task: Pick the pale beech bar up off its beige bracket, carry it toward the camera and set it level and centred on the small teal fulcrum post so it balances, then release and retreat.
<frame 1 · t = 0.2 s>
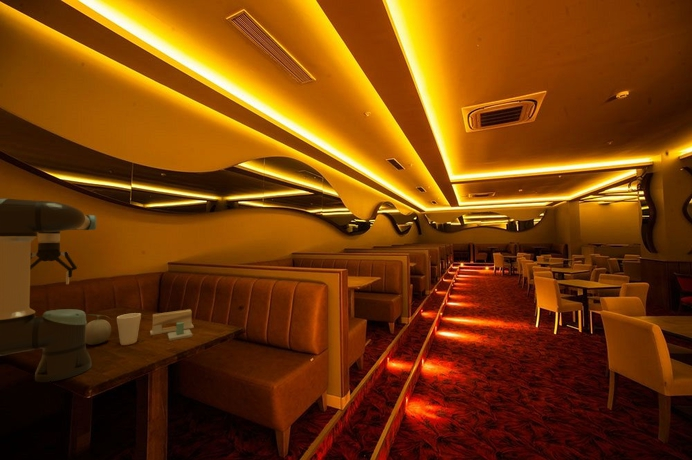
hand: (48, 285, 139), 28 cm above the table, fingers open, 13 cm apart
foam cup: (128, 343, 137), on the table
bar: (172, 321, 156), point 4 cm above the table, touching beige bracket
fulcrum: (179, 336, 146), on the table
beige bracket: (172, 329, 156), on the table
fruit: (97, 343, 137), on the table
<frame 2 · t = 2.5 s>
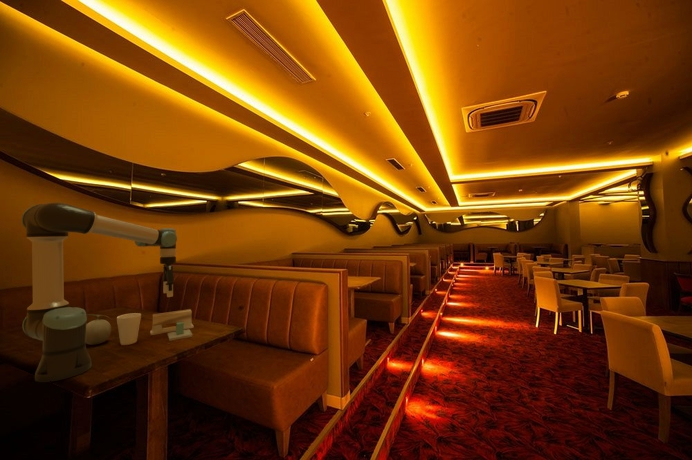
hand: (168, 294, 156), 19 cm above the table, fingers open, 13 cm apart
nothing on the table moved.
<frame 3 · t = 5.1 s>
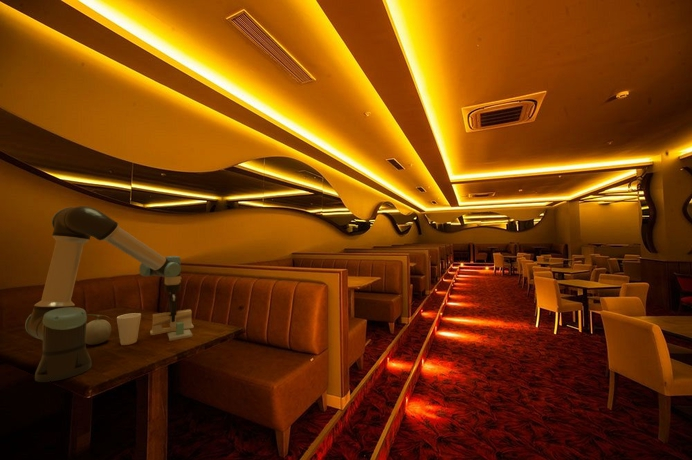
hand: (172, 326, 156), 2 cm above the table, fingers closed on bar, 5 cm apart
bar: (172, 321, 156), point 5 cm above the table, touching beige bracket, gripper
everything else where it was.
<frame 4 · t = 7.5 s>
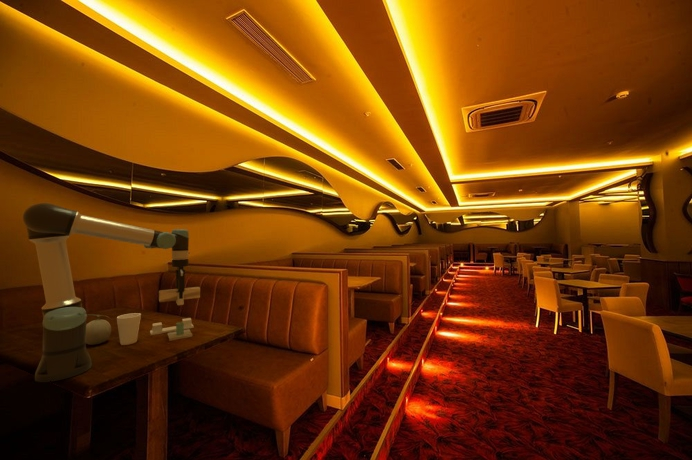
hand: (179, 303, 147), 17 cm above the table, fingers closed on bar, 5 cm apart
bar: (179, 298, 147), point 19 cm above the table, touching gripper
everything else where it was.
when the fingers open (6 cm above the table, at t = 10.2 s): bar drops 1 cm, resting on fulcrum.
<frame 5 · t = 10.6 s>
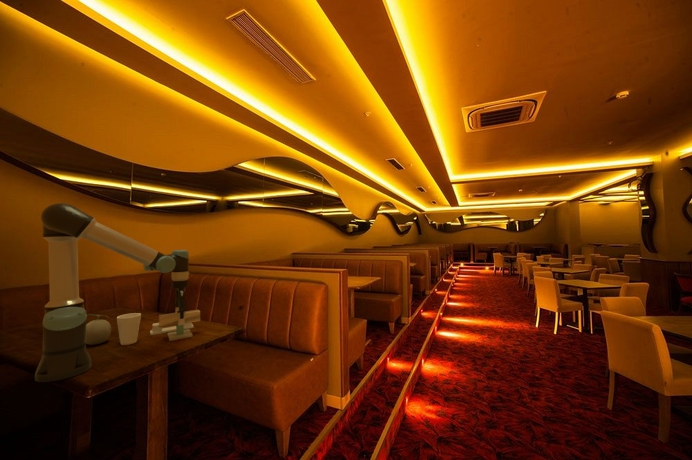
hand: (179, 322, 146), 7 cm above the table, fingers open, 11 cm apart
bar: (179, 322, 146), point 7 cm above the table, touching fulcrum
everything else where it was.
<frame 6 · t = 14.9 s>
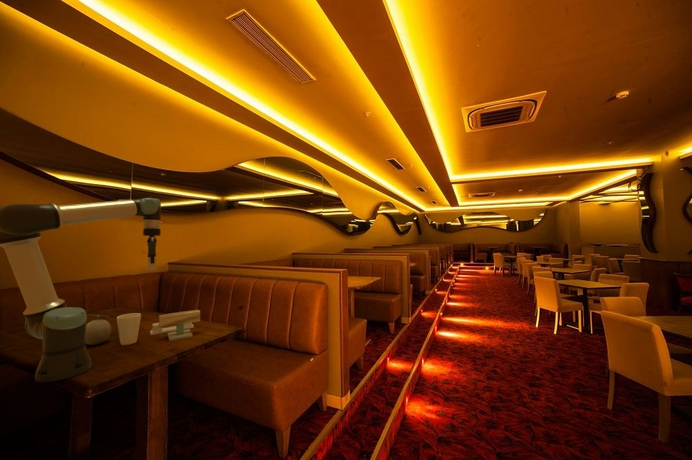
hand: (151, 269, 147), 35 cm above the table, fingers open, 13 cm apart
nothing on the table moved.
at the end: bar 0.0 cm off-centre on the fulcrum, point 6.7 cm above the fulcrum's base; bar tilted 0°; the gripper is holding nothing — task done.
